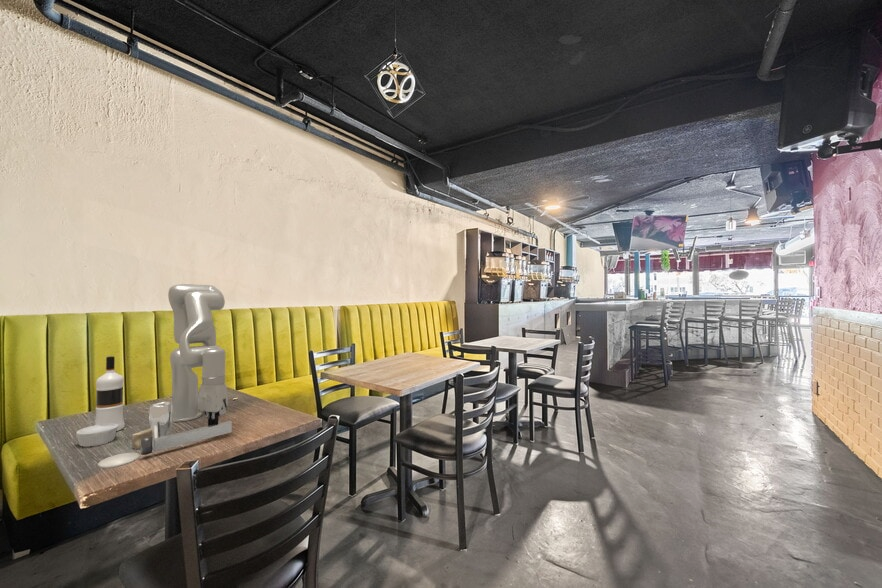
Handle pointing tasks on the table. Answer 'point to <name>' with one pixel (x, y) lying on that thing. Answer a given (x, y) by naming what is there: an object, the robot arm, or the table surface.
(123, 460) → the white disc
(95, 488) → the table surface
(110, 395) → the vodka
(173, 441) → the bar
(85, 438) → the ramekin
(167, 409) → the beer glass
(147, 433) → the block
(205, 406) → the robot arm
